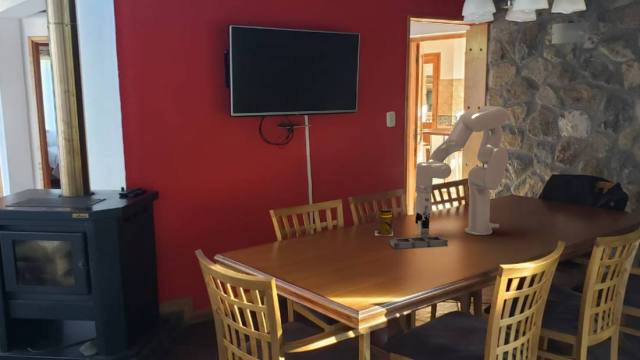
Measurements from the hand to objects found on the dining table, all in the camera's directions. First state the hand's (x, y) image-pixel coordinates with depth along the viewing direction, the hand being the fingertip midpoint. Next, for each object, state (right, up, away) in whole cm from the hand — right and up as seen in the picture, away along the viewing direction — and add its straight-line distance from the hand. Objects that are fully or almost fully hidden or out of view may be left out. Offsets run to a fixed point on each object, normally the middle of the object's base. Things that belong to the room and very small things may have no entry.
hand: (422, 226), depth 261 cm
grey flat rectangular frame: (-4, -8, -10) cm, 13 cm away
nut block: (+1, -6, +1) cm, 6 cm away
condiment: (-17, -5, +10) cm, 20 cm away
